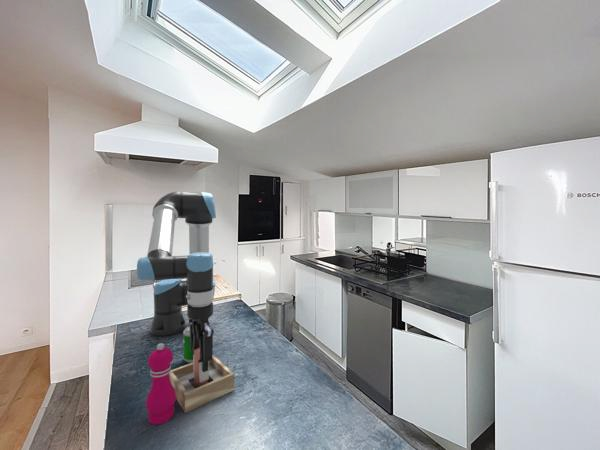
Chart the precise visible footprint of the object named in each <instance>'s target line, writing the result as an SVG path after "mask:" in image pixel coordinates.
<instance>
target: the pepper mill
mask: <svg viewBox="0 0 600 450" xmlns="http://www.w3.org/2000/svg"><path fill="white" fill-rule="evenodd" d="M173 359H174V355H173V351H172V350H171V348H169V347H168V348H167V347H165V344H164V343H162V342H161V343H158V344H157V345H156V349H154V350H153V351H152V352H151V353H150V354H149V355H148V358H147V365H148V367H149V368H150V370H149V371H150V373H149V375H150V376H151V378H152V381H151V388H150V390H149V392H148V395H147V397H146V400H145V408H146V410H147V411H148V413H147V417H148V419H147V420H148V423H149V424H151V425H160V424H164V423H166V422H168V421H170V420H171V418H173V416H174V414H175V405H174V404H175V402H176V401H177V400H176V393H175V390H174V388H173V386H172V384H171V382H170V379H169V373H170V371H171V370H172V362H173Z"/></svg>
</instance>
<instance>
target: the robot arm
mask: <svg viewBox="0 0 600 450" xmlns="http://www.w3.org/2000/svg"><path fill="white" fill-rule="evenodd" d="M215 205H216V204H215V199H214V195H213V194H212V193H210V192H204V191H172V192H169V193H167V194H165V195H163V196H162V197H160V198H159V199H158V200H157V202H156V203H155V204H154V205H153V209H152V212H151V213H152V215H151V216H152V218H153V222H152V228H151V234H150V238H149V243H148V244H149V245H148V250H147V254H146V256H144V257H140V258H138V260H137V263H136V276H137V279H138V280H139V281H141V282H155V281H157V282H156V283H155V284H154V287H153V310H154V311H153V312H154V313H153V318H152V321H151V324H150V328H149V332H150V334H151V335H153V336H158V337H164V336H170V335H175V334H178V333H180V332H183V331H184V330H185V329H186V327H187V322H186V319H185V316H184V312H183V311H182V310H183V307H184V306H187V308H186V311H187V318H188V323H189V324H188V326H190V349H191V350H192V353H193V354H194V350H195V349H197V348H200V360H198V362H199V382H203V381H205V380H208V379H209V360H212V355H213V348H214V347H213V342H214V341H213V340H214V339H213V336H214V331H215V330H214V328H210V321H209V320H210V317H212V316H213V315H214V303H213V301H214V298H215V291H216V279H215V278H214V259H213V254H212V253H210V226H211V224H212V223H213V220H214V219H217V214H216V213H217V212H216V206H215ZM178 219H184V220H185V224H186V225H188V233H189V234H188V237H189V238H188V240H189V241H188V243H189V245H188V246H189V248H188V249H189V250H188V251H189V254H188V255H173V247H174V236H175V235H174V234H175V226H176V225H175V224H176V221H177V220H178ZM183 279H185V280H183ZM202 334H203V335H202ZM193 375H194V355H193Z"/></svg>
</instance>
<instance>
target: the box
mask: <svg viewBox="0 0 600 450" xmlns="http://www.w3.org/2000/svg"><path fill="white" fill-rule="evenodd" d="M169 379H170V382H171V384H172V386H173V388H174V390H175V393H176V400H175V401H176V402H177V403H178V404H179V406H180V407H181V408H182V410H183V412H184V413H188V412H191V411H192V410H195V409H197V408H200V407H201V406H203V405H205V404H207V403H209V402H212V401H214V400H216V399H218V398H219V397H222V396H224V395H226V394H228V393H230V392H233V391H234V390H235V373H234V372H233V371H232V370H230V368H228V366H226V365H225V364H224V363H223V361H220V360H219V359H218V358H217V357H216V356H215V355H213V354H212V360H209V379H208V383H207V384H205V385H203V386H200V387H198V388H196V389H195V388H194V375H193V363H188V364H185V365H183V366H182V365H181V366H180V367H179V366H178V367H176V368H173V369H171V371H170V373H169Z"/></svg>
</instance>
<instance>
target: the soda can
mask: <svg viewBox="0 0 600 450" xmlns="http://www.w3.org/2000/svg"><path fill="white" fill-rule="evenodd" d="M202 335H203V334H202ZM182 341H183V343H182V344H183V350H182V352H183V353H182V354H183V357H182V358H183V360H184V361H185V362H186V363H188V364H190V363H193V355H194V354H193V353H192V350H191V349H190V325H188V326H186V327H185V329H184V330H182Z"/></svg>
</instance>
